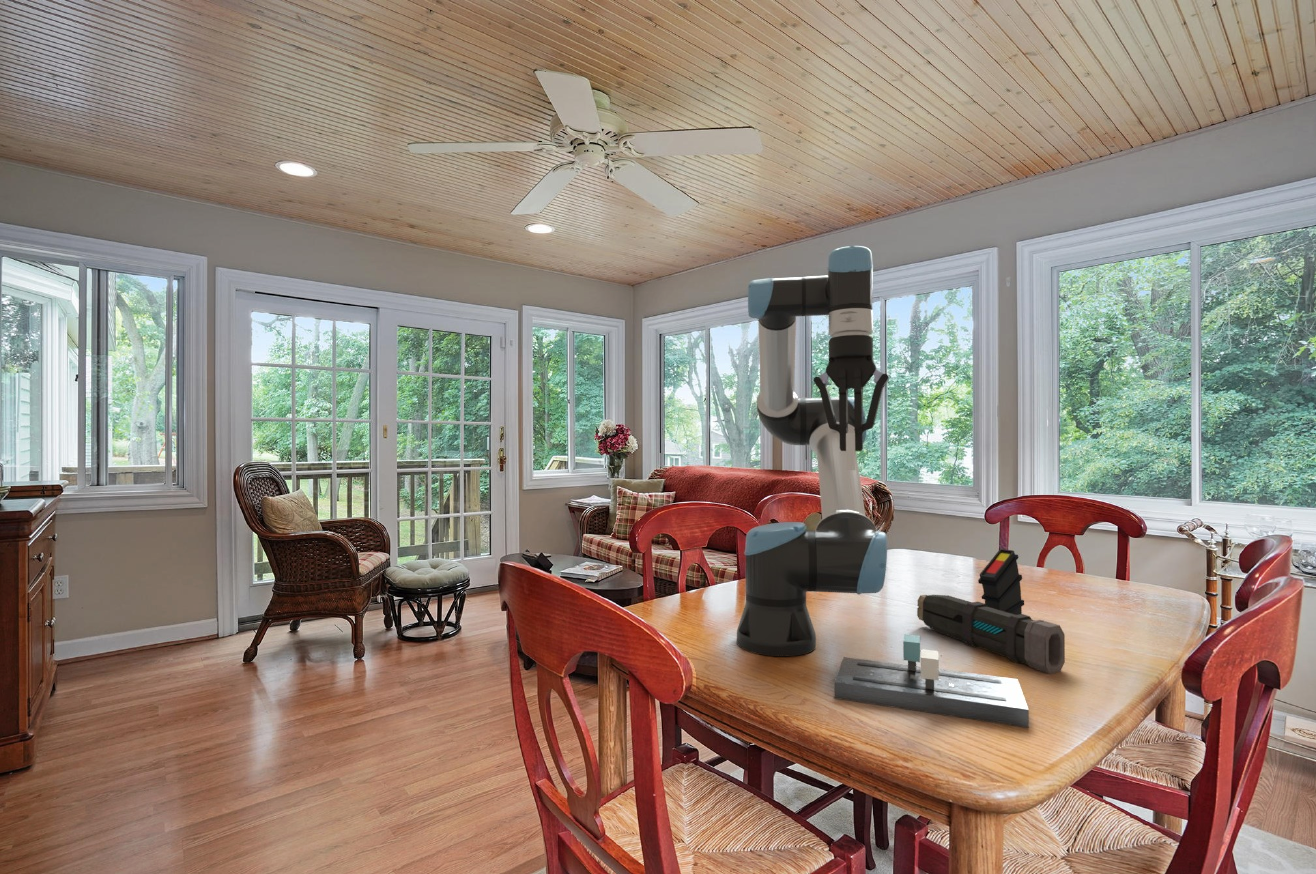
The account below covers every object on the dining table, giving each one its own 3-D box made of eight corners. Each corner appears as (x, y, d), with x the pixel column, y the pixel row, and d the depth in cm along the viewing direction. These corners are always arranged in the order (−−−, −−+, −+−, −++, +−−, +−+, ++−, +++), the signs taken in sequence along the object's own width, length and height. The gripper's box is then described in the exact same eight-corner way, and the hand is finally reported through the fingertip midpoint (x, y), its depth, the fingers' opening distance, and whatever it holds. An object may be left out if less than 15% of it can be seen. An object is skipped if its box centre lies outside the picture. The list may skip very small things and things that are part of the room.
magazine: (1030, 606, 142) (1016, 550, 138) (1005, 642, 135) (990, 583, 131) (1012, 603, 145) (999, 547, 141) (987, 638, 138) (972, 580, 134)
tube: (940, 637, 135) (1078, 666, 108) (917, 649, 133) (1053, 681, 105) (926, 588, 136) (1060, 604, 108) (903, 599, 133) (1034, 618, 105)
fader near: (920, 691, 92) (920, 657, 92) (921, 681, 96) (920, 649, 96) (938, 694, 92) (938, 659, 92) (938, 684, 95) (938, 651, 95)
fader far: (903, 672, 100) (903, 641, 100) (904, 664, 104) (904, 634, 104) (919, 674, 99) (919, 643, 99) (920, 666, 103) (920, 635, 103)
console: (834, 698, 97) (834, 681, 97) (844, 671, 108) (843, 656, 108) (1028, 727, 87) (1028, 709, 87) (1017, 695, 98) (1017, 678, 98)
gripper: (809, 336, 110) (810, 470, 110) (888, 330, 105) (889, 471, 105) (816, 342, 117) (817, 468, 117) (890, 337, 112) (891, 469, 112)
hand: (851, 469), depth 111 cm, fingers closed
